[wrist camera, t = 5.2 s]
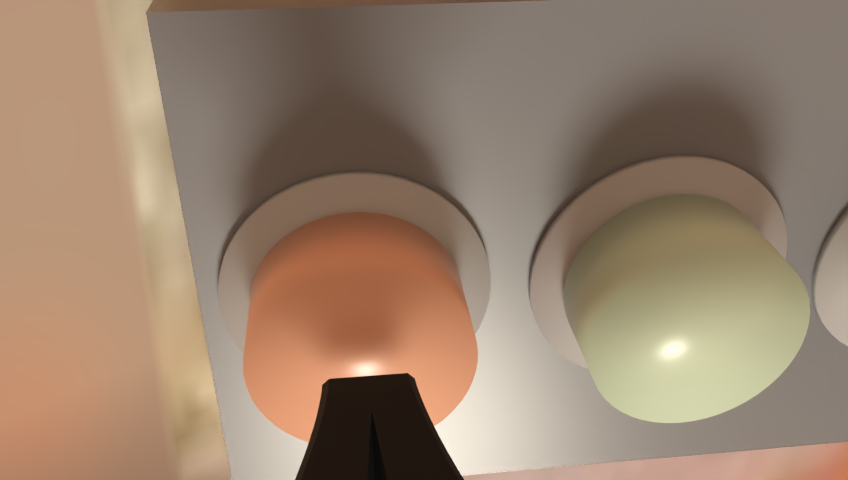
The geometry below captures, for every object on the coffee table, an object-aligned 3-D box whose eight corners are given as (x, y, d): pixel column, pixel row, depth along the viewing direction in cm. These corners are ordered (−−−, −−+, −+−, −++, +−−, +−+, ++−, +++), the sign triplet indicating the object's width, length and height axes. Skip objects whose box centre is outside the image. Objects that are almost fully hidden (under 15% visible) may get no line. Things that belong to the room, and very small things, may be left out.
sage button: (784, 188, 15) (837, 240, 13) (738, 353, 17) (779, 414, 16) (574, 199, 15) (604, 254, 13) (554, 368, 17) (578, 431, 15)
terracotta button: (465, 205, 14) (482, 261, 13) (459, 375, 17) (473, 440, 15) (237, 218, 14) (228, 278, 12) (261, 390, 16) (256, 458, 15)
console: (1085, -52, 16) (1210, -17, 14) (908, 364, 22) (976, 436, 20) (171, -29, 14) (143, 16, 12) (242, 416, 20) (234, 502, 18)
